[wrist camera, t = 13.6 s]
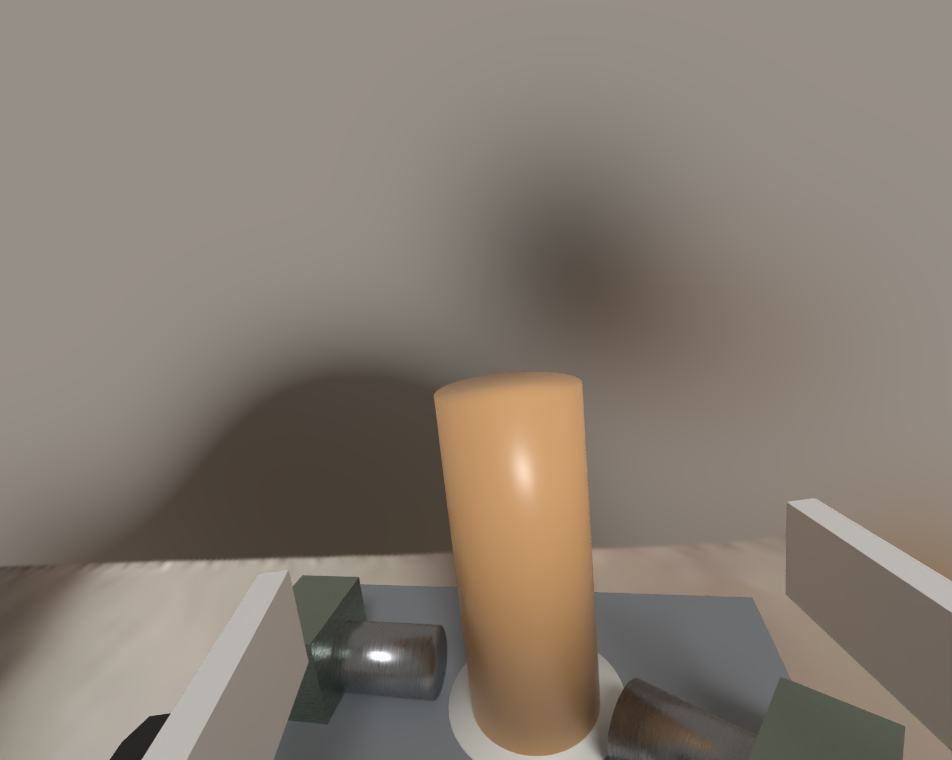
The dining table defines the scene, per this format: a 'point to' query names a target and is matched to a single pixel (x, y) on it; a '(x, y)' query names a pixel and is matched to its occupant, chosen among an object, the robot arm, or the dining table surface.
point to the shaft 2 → (739, 751)
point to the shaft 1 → (360, 651)
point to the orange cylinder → (523, 555)
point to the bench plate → (619, 660)
